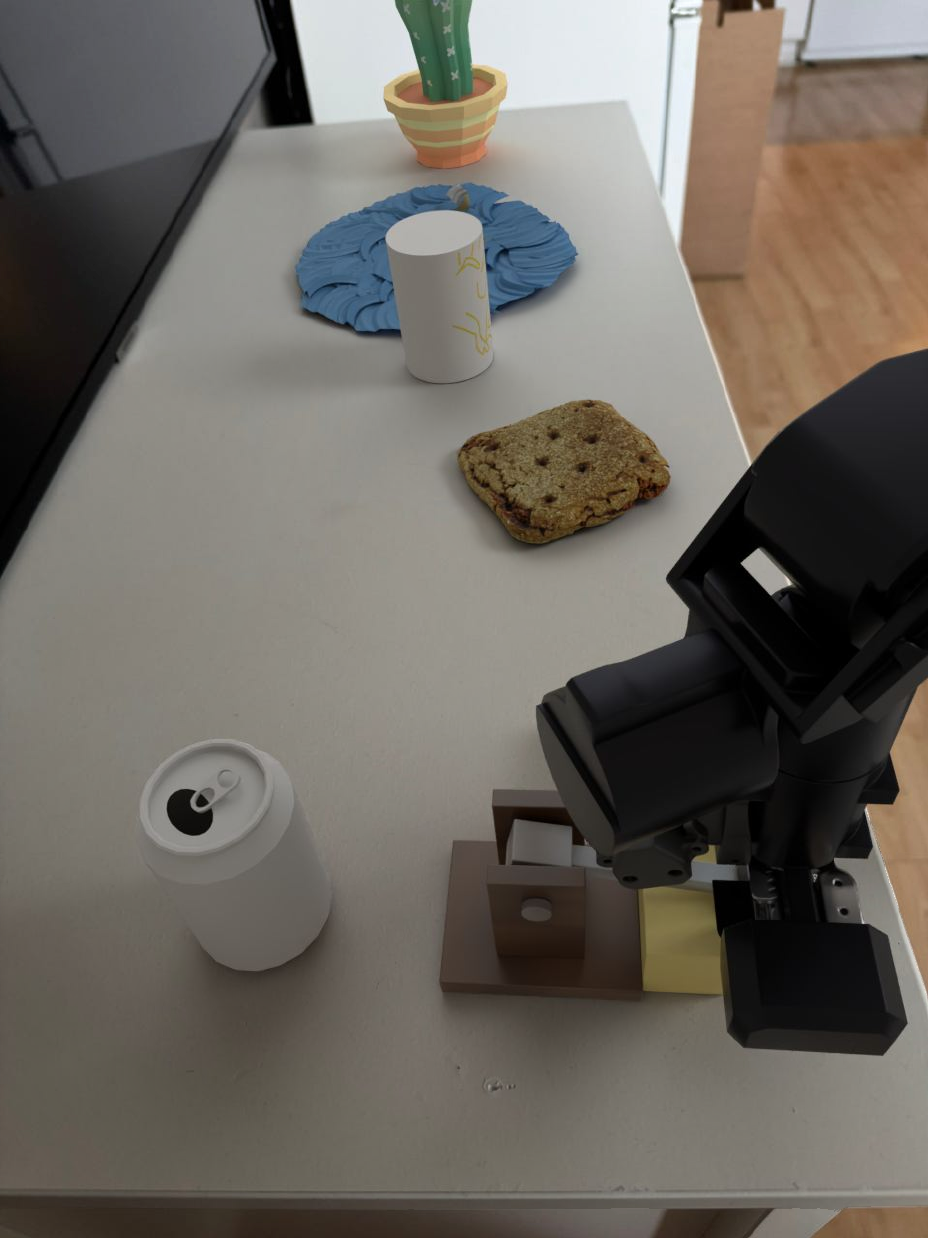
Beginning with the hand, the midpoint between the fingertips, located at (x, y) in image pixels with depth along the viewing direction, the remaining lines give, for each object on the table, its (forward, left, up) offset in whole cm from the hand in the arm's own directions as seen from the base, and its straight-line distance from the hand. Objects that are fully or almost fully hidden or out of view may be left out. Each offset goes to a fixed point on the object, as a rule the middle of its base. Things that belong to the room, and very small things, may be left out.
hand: (753, 907), depth 47 cm
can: (+26, 0, -3) cm, 26 cm away
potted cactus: (+25, -102, -3) cm, 105 cm away
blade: (+5, 0, +2) cm, 6 cm away
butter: (+4, 0, -2) cm, 4 cm away
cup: (+20, -54, -3) cm, 58 cm away
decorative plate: (+24, -73, -3) cm, 77 cm away
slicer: (+11, 0, -2) cm, 11 cm away
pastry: (+10, -37, -3) cm, 38 cm away
